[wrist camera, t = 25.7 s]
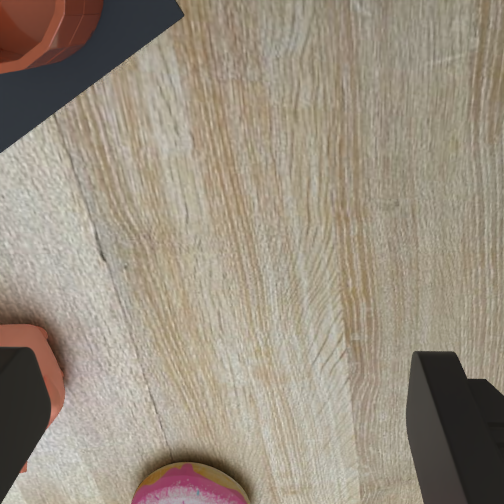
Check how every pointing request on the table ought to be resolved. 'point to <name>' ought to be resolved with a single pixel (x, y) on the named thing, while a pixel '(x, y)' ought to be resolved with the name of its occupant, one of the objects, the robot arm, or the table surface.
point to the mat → (80, 64)
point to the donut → (189, 486)
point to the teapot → (47, 362)
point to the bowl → (44, 31)
